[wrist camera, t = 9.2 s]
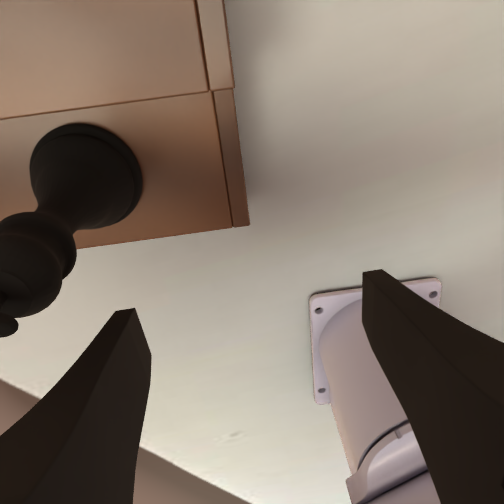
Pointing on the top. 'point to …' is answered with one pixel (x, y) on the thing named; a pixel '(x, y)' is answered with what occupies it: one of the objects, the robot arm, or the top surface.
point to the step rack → (127, 105)
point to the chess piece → (62, 214)
